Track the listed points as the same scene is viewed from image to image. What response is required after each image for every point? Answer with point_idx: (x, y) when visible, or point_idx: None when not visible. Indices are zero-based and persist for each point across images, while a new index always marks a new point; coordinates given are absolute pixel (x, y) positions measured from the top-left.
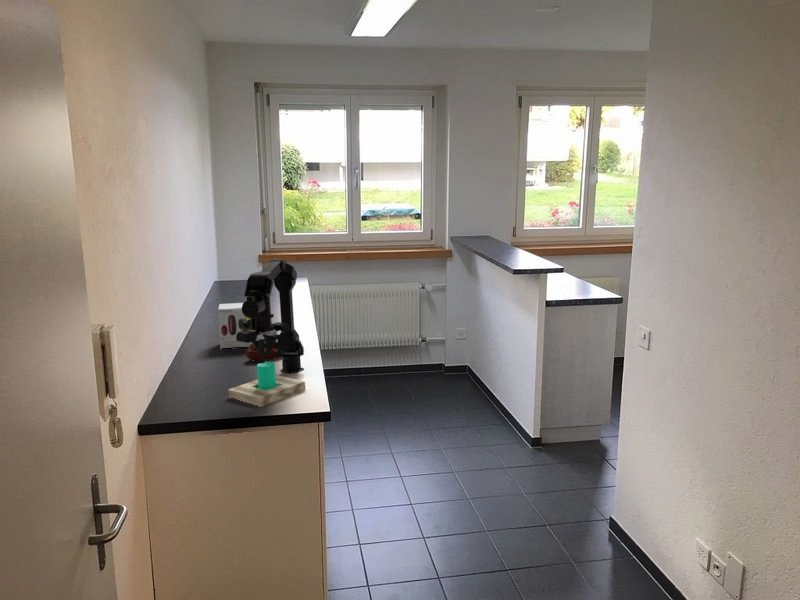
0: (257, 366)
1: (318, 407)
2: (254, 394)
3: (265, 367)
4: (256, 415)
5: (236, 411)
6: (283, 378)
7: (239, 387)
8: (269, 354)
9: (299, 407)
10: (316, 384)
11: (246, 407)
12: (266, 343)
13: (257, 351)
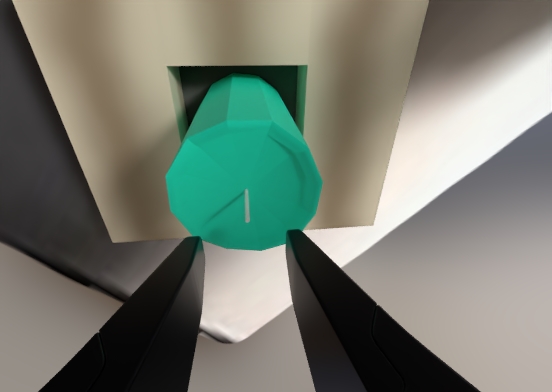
0: (166, 178)
1: (252, 322)
2: (112, 192)
3: (201, 237)
4: (72, 264)
5: (14, 186)
6: (378, 113)
7: (94, 6)
8: (290, 273)
9: (219, 296)
10: (431, 190)
11: (73, 181)
12: (341, 375)
13: (133, 293)
